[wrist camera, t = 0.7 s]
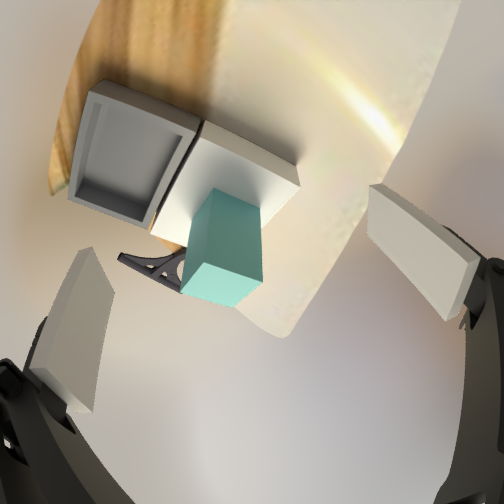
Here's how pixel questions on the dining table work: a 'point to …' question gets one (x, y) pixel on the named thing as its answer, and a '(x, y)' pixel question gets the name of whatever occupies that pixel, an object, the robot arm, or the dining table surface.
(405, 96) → the dining table surface
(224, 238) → the block
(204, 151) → the white flat box
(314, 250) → the dining table surface
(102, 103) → the tray
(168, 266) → the bracket
